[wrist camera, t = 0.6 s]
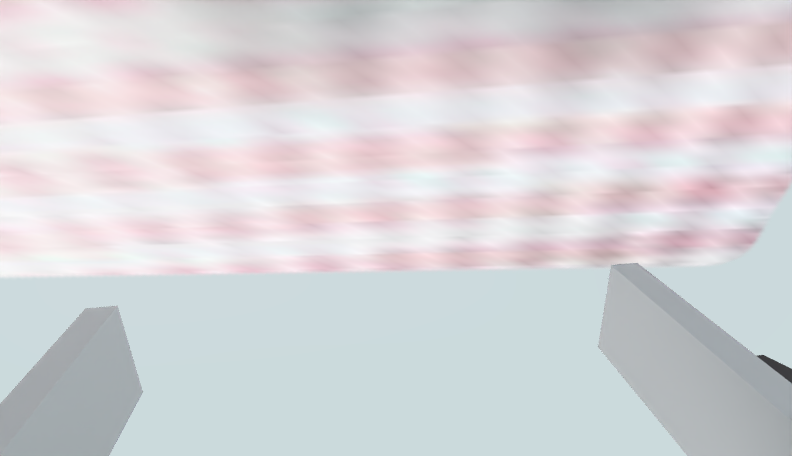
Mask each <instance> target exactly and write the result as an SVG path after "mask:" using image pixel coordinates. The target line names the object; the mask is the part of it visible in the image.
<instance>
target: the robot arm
mask: <svg viewBox="0 0 792 456" xmlns="http://www.w3.org/2000/svg"><path fill="white" fill-rule="evenodd" d="M598 347H599V349H600V350H601V351H602V352H603V354H604V355H605V356H606V357H607V358H608V360H609V361H610V362H611V363H612V365H613V366H614V367H615V368H616V369H617V371H618V372H619V373H620V374H621V375H622V376H623V378H624V379H625V380H626V381H627V383H628V384H629V385H630V386H631V388H632V389H633V390H634V391H635V392H636V394H637V395H638V396H639V397H640V399H641V400H642V401H643V402H644V403H645V405H646V406H647V407H648V408H649V410H650V411H651V412H652V413H653V414H654V416H655V417H656V418H657V419H658V421H659V422H660V423H661V424H662V425H663V427H664V428H665V429H666V430H667V431H668V433H669V434H670V435H671V436H672V438H673V439H674V440H675V441H676V442H677V444H678V445H679V446H680V447H681V448H682V450H683V451H684V452H685V453H686V454H687V456H792V369H791V368H789V367H786V366H785V365H783V364H781V363H778V362H777V361H775V360H772V359H770V358H768V357H766V356H764V355H759V356H756V355H754V354H753V353H752V352H751V351H749V350H748V349H747V348H746V347H744V346H743V345H742V344H740V343H739V342H738V341H737V340H735V339H734V338H733V337H731V336H730V335H729V334H728V333H726V332H725V331H724V330H723V329H721V328H720V327H719V326H717V325H716V324H715V323H713V322H712V321H711V320H709V319H708V318H707V317H706V316H704V315H703V314H702V313H701V312H699V311H698V310H697V309H696V308H694V307H693V306H692V305H690V304H689V303H688V302H687V301H685V300H684V299H683V298H681V297H680V296H679V295H677V294H676V293H675V292H674V291H673V290H671V289H670V288H669V287H667V286H666V285H665V284H664V283H662V282H661V281H660V280H658V279H657V278H656V277H654V276H653V275H652V274H651V273H649V272H648V271H647V270H646V269H644V268H643V267H642V266H640V265H639V264H638V263H630V264H618V265H611V269H610V275H609V282H608V289H607V295H606V301H605V307H604V313H603V320H602V326H601V332H600V338H599V345H598ZM142 393H143V391H142V388H141V384H140V381H139V378H138V374H137V371H136V367H135V364H134V360H133V357H132V354H131V351H130V347H129V343H128V340H127V337H126V334H125V330H124V326H123V323H122V320H121V316H120V313H119V309H118V307H117V306H111V307H99V308H87V309H85V310H84V311H83V312H82V313H81V314H80V315H79V317H78V318H77V319H76V320H75V321H74V322H73V323H72V324H71V325H70V327H69V328H68V329H67V330H66V331H65V332H64V333H63V334H62V336H61V337H60V338H59V339H58V340H57V341H56V342H55V343H54V344H53V346H52V347H51V348H50V349H49V350H48V351H47V352H46V353H45V355H44V356H43V357H42V358H41V359H40V360H39V361H38V362H37V364H36V365H35V366H34V367H33V368H32V369H31V370H30V371H29V373H28V374H27V375H26V376H25V377H24V378H23V379H22V380H21V381H20V383H19V384H18V385H17V386H16V387H15V388H14V389H13V390H12V392H11V393H10V394H9V395H8V396H7V397H6V398H5V399H4V400H3V402H2V403H1V404H0V456H109V455H110V453H111V451H112V449H113V447H114V445H115V444H116V442H117V440H118V438H119V436H120V434H121V432H122V430H123V429H124V427H125V425H126V423H127V421H128V419H129V417H130V415H131V413H132V412H133V410H134V408H135V406H136V404H137V402H138V400H139V398H140V397H141V395H142Z"/></svg>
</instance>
